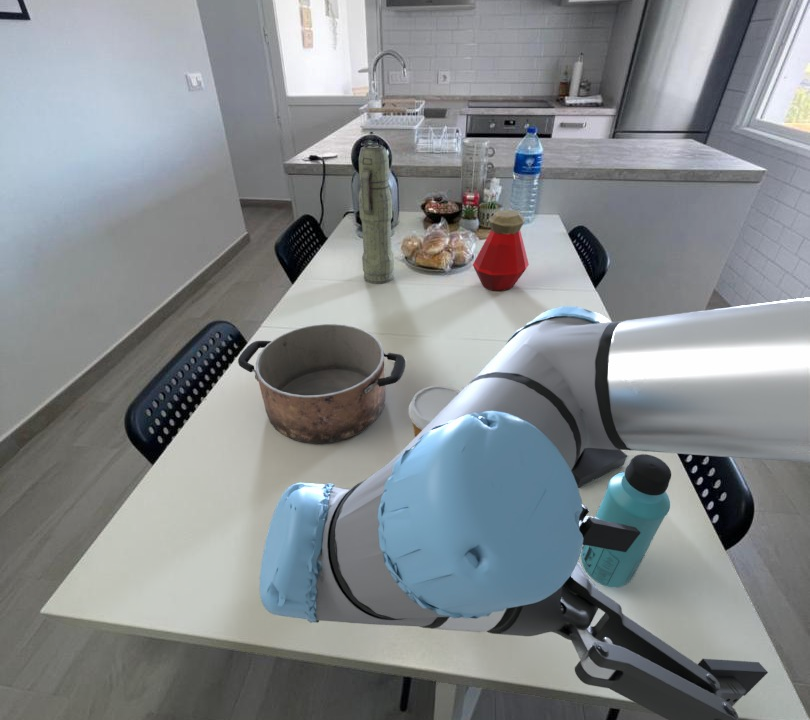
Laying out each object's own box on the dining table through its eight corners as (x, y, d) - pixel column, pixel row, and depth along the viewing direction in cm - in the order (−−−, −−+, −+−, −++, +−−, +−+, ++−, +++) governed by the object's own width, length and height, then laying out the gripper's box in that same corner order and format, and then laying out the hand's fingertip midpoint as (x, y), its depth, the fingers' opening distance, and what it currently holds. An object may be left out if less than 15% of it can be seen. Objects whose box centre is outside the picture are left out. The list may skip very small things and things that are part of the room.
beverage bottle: (640, 589, 56) (704, 484, 44) (593, 602, 54) (646, 497, 43) (609, 543, 61) (658, 438, 49) (565, 553, 60) (605, 448, 48)
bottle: (503, 269, 134) (512, 201, 122) (536, 286, 124) (549, 215, 113) (461, 281, 127) (466, 210, 116) (491, 300, 118) (500, 225, 106)
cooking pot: (225, 433, 78) (209, 386, 72) (277, 360, 96) (268, 317, 90) (392, 456, 74) (390, 407, 68) (414, 375, 92) (414, 330, 85)
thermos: (357, 284, 126) (347, 150, 106) (370, 267, 136) (363, 141, 115) (387, 287, 125) (383, 151, 104) (398, 270, 134) (396, 142, 114)
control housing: (623, 465, 72) (630, 447, 70) (571, 491, 68) (576, 473, 66) (569, 419, 81) (574, 402, 78) (520, 440, 77) (523, 423, 74)
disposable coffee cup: (478, 457, 73) (485, 402, 67) (441, 492, 68) (444, 435, 61) (434, 429, 79) (436, 375, 72) (396, 459, 73) (395, 404, 66)
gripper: (419, 493, 44) (580, 525, 52) (547, 836, 22) (793, 803, 30) (452, 432, 42) (615, 475, 49) (632, 745, 20) (874, 735, 27)
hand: (682, 598), depth 40 cm, fingers open, 13 cm apart
